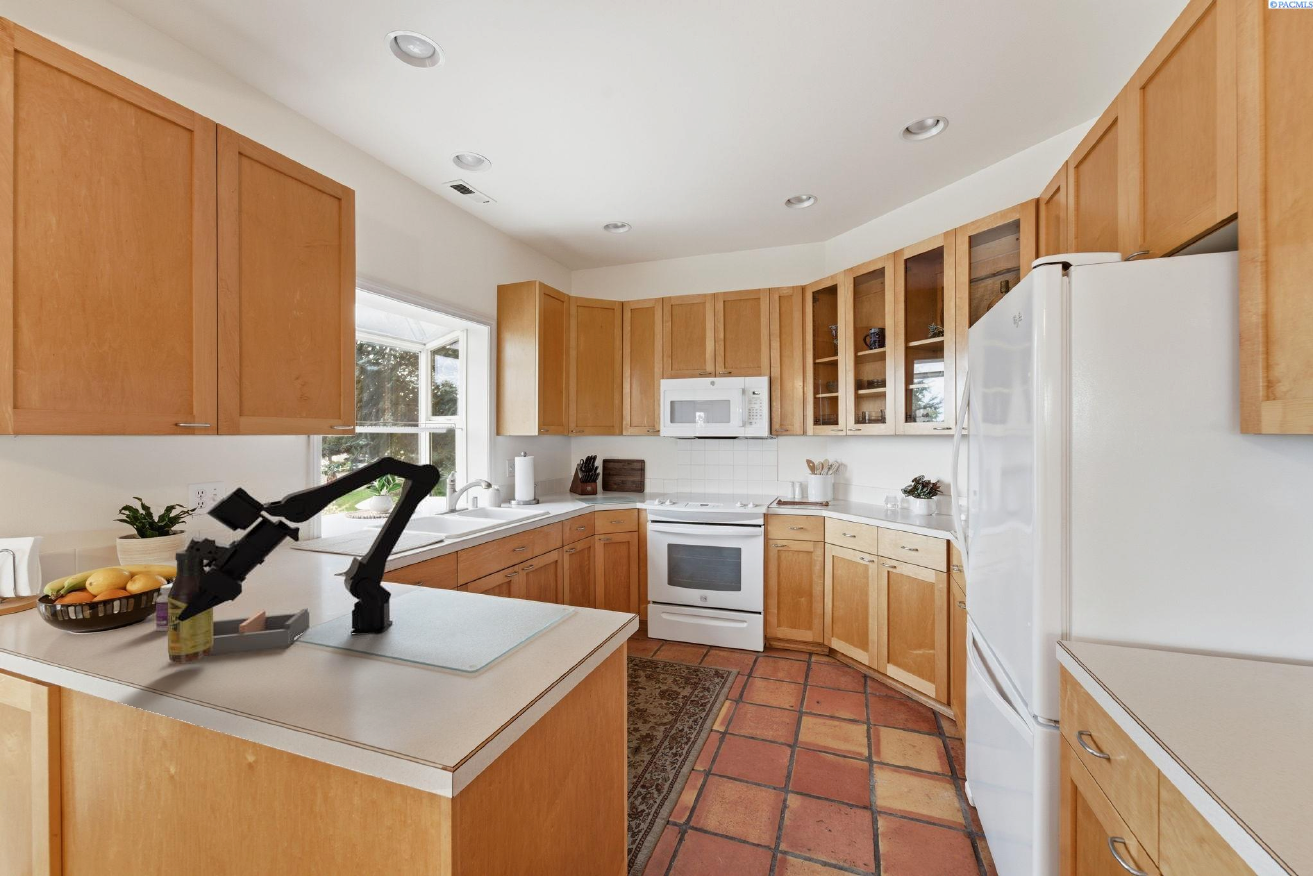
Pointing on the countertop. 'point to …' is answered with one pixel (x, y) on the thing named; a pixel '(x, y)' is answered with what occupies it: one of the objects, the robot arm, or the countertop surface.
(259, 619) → the plate
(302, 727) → the countertop surface
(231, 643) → the tray
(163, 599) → the pill bottle
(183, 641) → the sauce bottle
